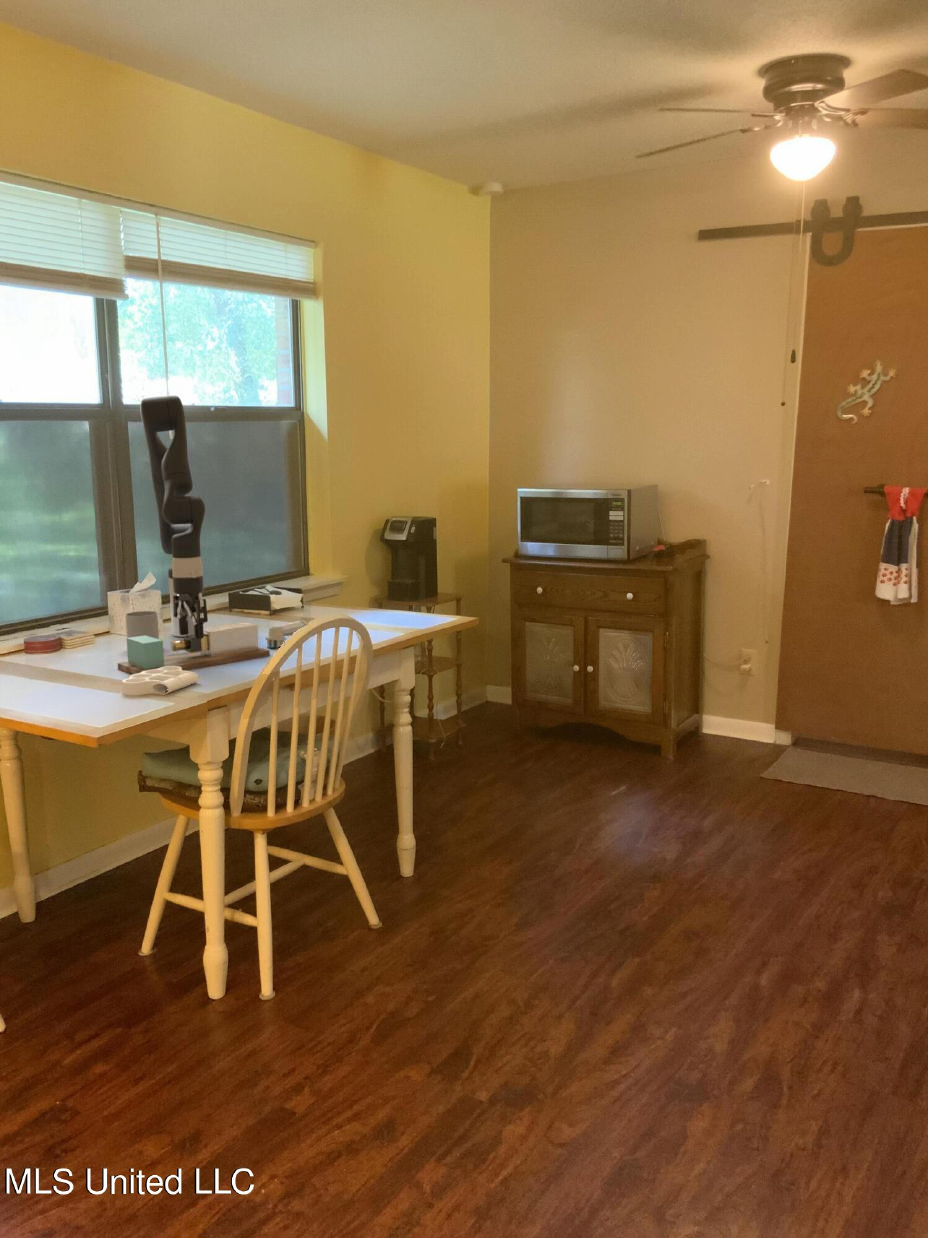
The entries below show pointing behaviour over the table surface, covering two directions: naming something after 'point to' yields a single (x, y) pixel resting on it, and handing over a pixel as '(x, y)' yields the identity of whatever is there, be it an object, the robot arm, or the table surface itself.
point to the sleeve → (231, 638)
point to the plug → (191, 644)
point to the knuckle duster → (158, 681)
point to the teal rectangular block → (145, 652)
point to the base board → (198, 660)
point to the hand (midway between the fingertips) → (191, 636)
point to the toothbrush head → (283, 632)
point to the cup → (142, 624)
